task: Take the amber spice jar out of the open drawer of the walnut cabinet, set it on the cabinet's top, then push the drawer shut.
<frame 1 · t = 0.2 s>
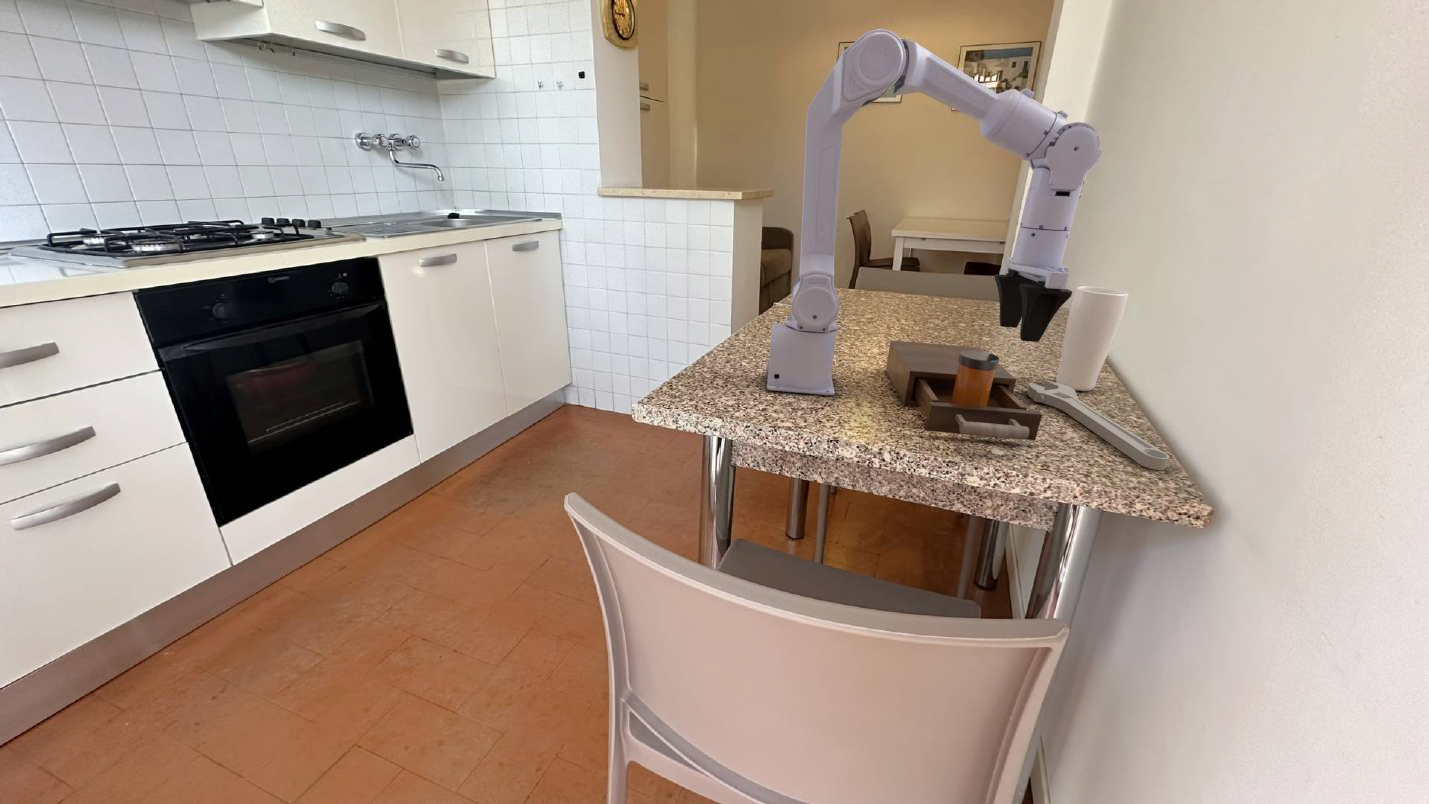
hand: (1018, 333, 77), 10 cm above the table, tool pointing down, fingers open, 7 cm apart
spice jar: (967, 408, 72), point 2 cm above the table, touching drawer
cabinet: (940, 390, 84), on the table
drinking glass: (1073, 387, 89), on the table
drawer: (970, 406, 71), point 3 cm above the table, slide at 9.0 cm, touching spice jar
adjustable wrench: (1082, 424, 75), on the table
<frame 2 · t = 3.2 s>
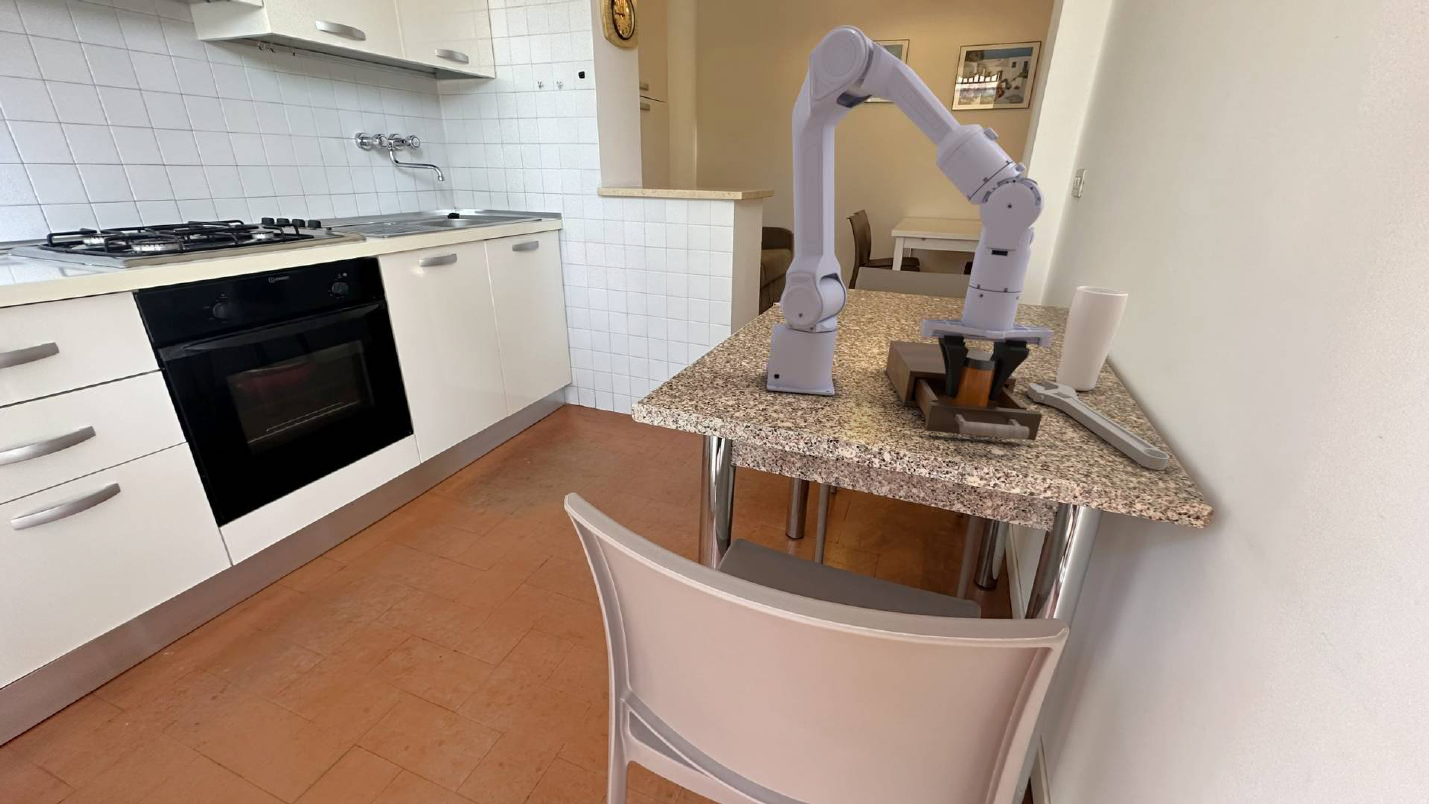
hand: (970, 396, 72), 4 cm above the table, tool pointing down, fingers closed on spice jar, 4 cm apart
spice jar: (967, 408, 72), point 2 cm above the table, touching drawer, gripper
everything else where it was.
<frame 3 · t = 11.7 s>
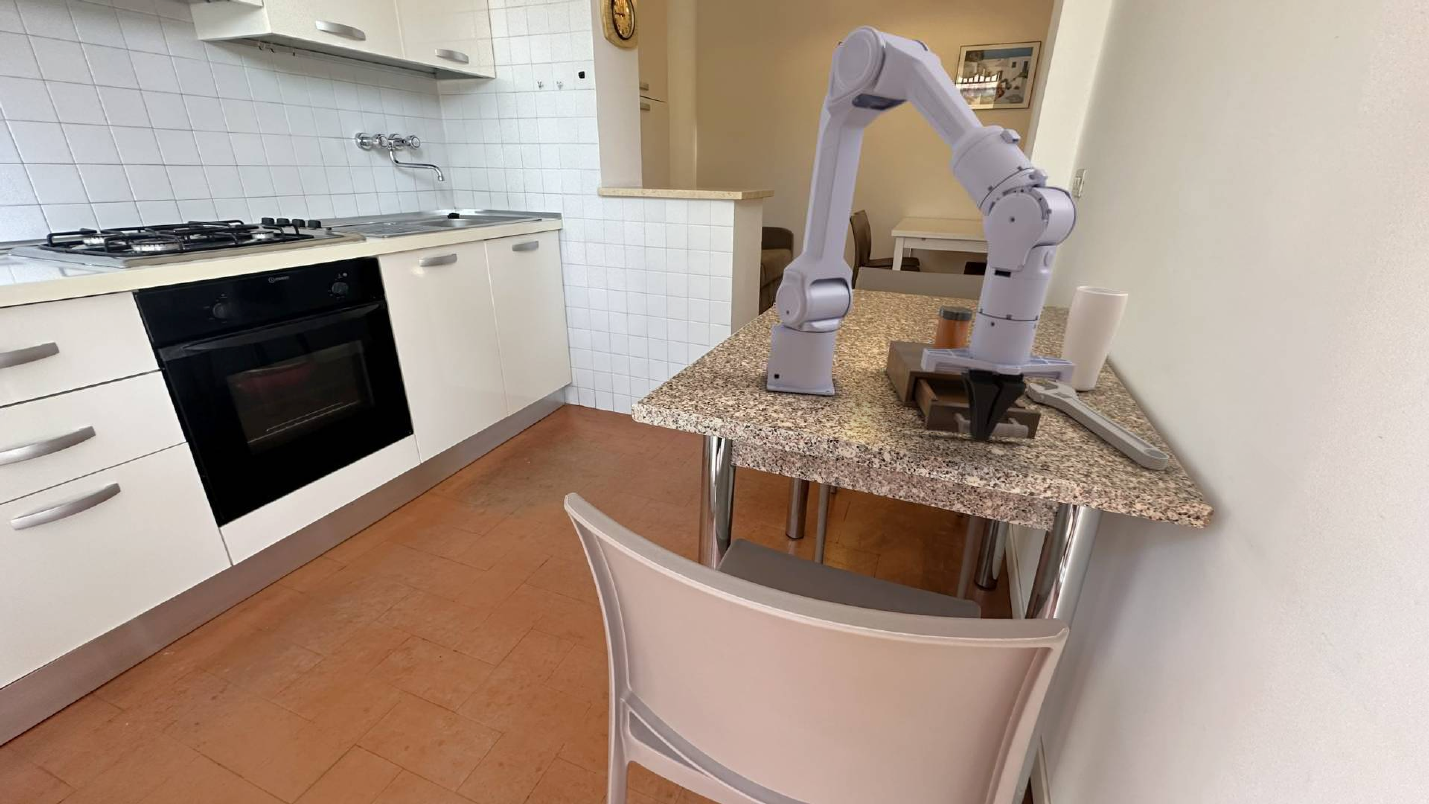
hand: (978, 437, 62), 3 cm above the table, tool pointing down, fingers closed, pressing on drawer
spice jar: (947, 356, 83), point 5 cm above the table, touching cabinet
drawer: (969, 405, 72), point 3 cm above the table, slide at 8.7 cm, touching gripper
everything else where it was.
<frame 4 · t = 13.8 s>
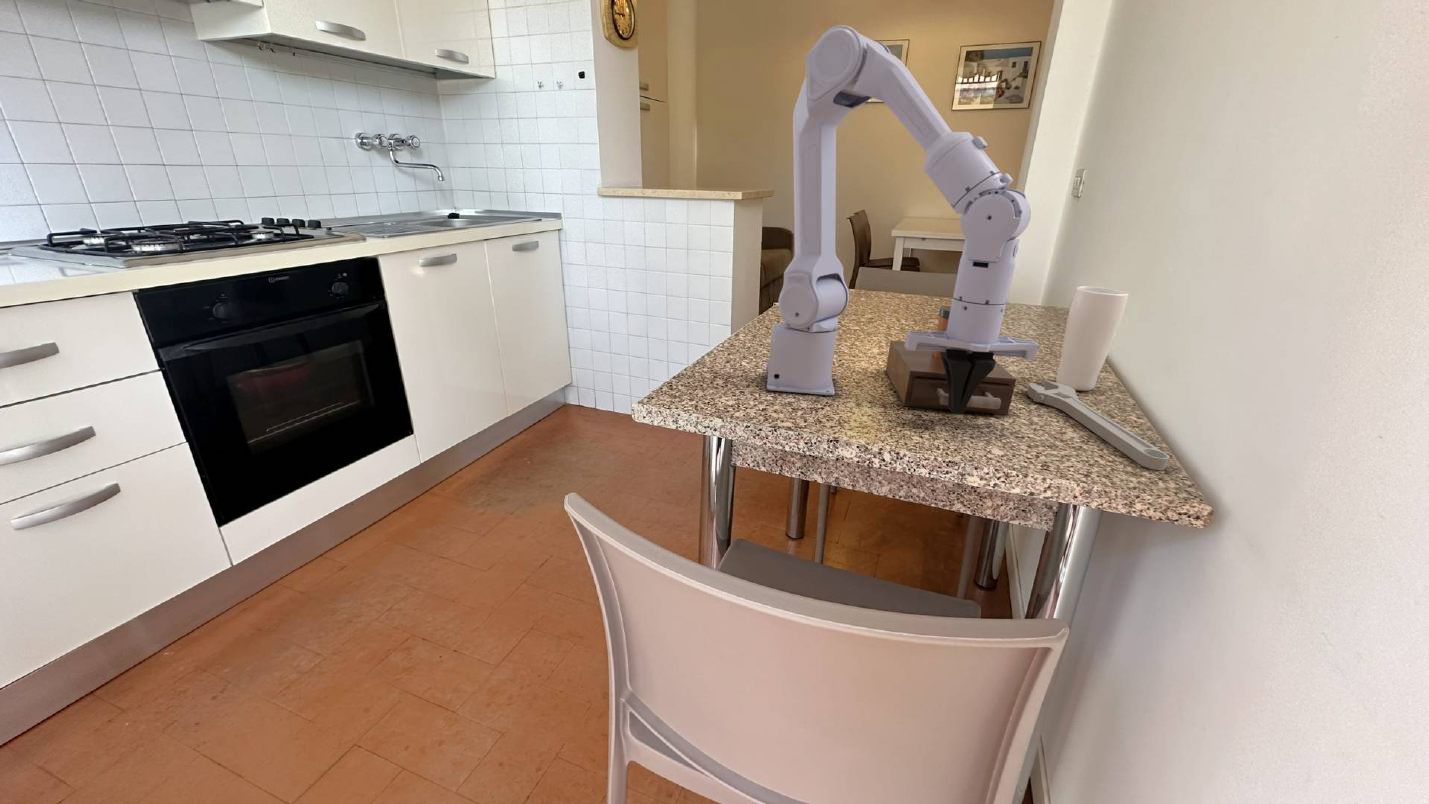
hand: (955, 409, 71), 2 cm above the table, tool pointing down, fingers closed, pressing on drawer
drawer: (950, 382, 80), point 3 cm above the table, slide at 0.0 cm, touching cabinet, gripper
everything else where it was.
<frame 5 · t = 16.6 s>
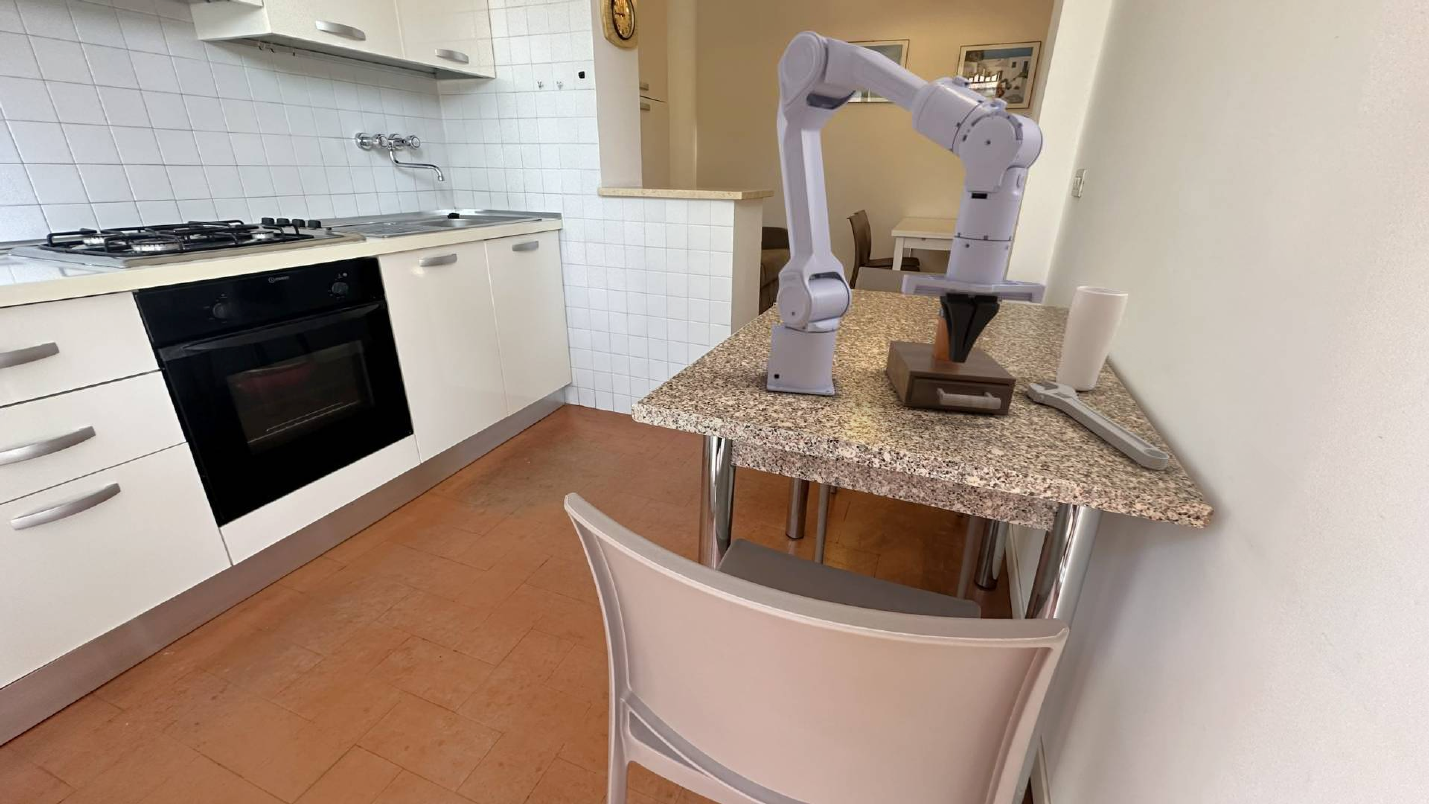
hand: (956, 360, 66), 9 cm above the table, tool pointing down, fingers closed
drawer: (951, 382, 80), point 3 cm above the table, slide at 0.0 cm, touching cabinet
everything else where it was.
at the end: spice jar inside the target area on the cabinet (0.5 cm from its centre), point 5.1 cm above the cabinet's base; spice jar tilted 0°; drawer slide at 0.0 cm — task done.
